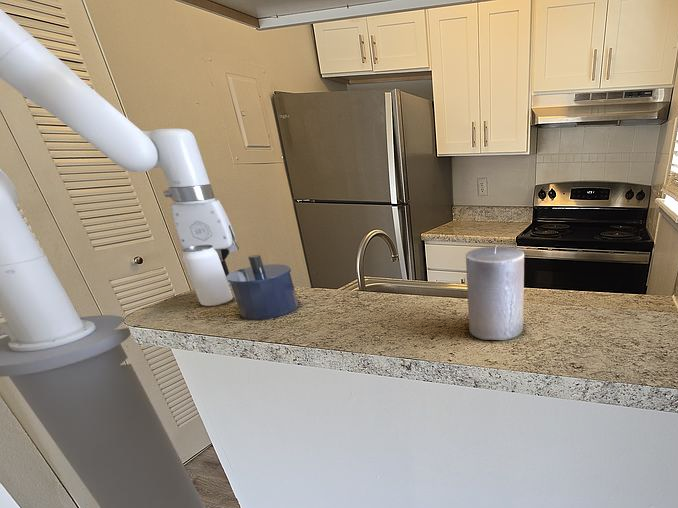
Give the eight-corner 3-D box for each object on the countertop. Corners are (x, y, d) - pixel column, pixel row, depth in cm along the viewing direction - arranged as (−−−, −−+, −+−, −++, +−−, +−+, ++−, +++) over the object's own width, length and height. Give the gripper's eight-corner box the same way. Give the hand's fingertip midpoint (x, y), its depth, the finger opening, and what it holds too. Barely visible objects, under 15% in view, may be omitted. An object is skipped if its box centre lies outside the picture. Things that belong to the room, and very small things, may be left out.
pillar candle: (499, 314, 78) (499, 236, 71) (534, 331, 71) (537, 245, 64) (458, 328, 74) (453, 245, 66) (491, 347, 67) (489, 256, 59)
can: (236, 295, 94) (218, 243, 88) (230, 304, 89) (210, 249, 83) (205, 298, 92) (184, 246, 87) (197, 308, 87) (174, 253, 81)
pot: (234, 322, 80) (221, 285, 76) (249, 303, 89) (238, 270, 85) (293, 316, 82) (283, 280, 78) (301, 297, 91) (293, 265, 87)
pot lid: (219, 289, 76) (211, 266, 74) (237, 272, 86) (230, 251, 84) (285, 283, 78) (279, 260, 76) (296, 267, 88) (290, 246, 86)
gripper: (145, 199, 82) (181, 286, 91) (225, 194, 84) (252, 279, 93) (162, 195, 88) (193, 276, 97) (236, 190, 91) (260, 270, 100)
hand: (222, 278), depth 95 cm, fingers closed
